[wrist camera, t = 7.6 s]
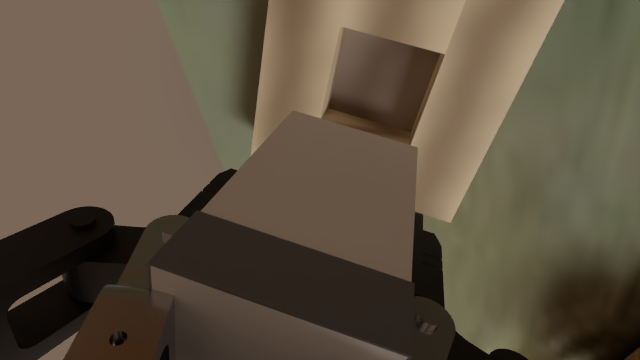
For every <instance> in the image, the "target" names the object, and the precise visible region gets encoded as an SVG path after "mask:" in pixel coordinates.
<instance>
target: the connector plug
mask: <svg viewBox="0 0 640 360" xmlns="http://www.w3.org/2000/svg"><path fill="white" fill-rule="evenodd" d="M417 156H418V147H415V146H412V145H408V144H405V143H402V142H398V141H395V140H391V139H388V138H385V137H381V136H378V135H375V134H371V133H368V132H365V131H361V130H358V129H354V128H351V127H348V126H344V125H341V124H338V123H334V122H331V121H327V120H324V119H321V118H317V117H314V116H311V115H307V114H304V113H300V112H297V111H294V110H293V111H292V112H291V113H290V114H289V115H288V116H287V117H286V119H285V120H284V121H283V122H282V123H281V124H280V125H279V126H278V127H277V128H276V129H275V131H274V132H273V133H272V134H271V135H270V136H269V137H268V138H267V139H266V140H265V141H264V143H263V144H262V145H261V146H260V147H259V148H258V149H257V150H256V151H255V152H254V153H253V155H252V156H251V157H250V158H249V159H248V160H247V161H246V162H245V163H244V164H243V165H242V167H241V168H240V169H239V170H238V171H237V172H236V173H235V174H234V175H233V176H232V177H231V178H230V180H229V181H228V182H227V183H226V184H225V185H224V186H223V187H222V188H221V189H220V190H219V192H218V193H217V194H216V195H215V196H214V197H213V198H212V199H211V200H210V201H209V202H208V204H207V205H206V206H205V207H204V208H203V209H202V210H201V211H198V210H197V211H196V212H195V213H194V214H193V215H192V216H191V217H190V218H189V219H188V220H187V221H186V222H185V223H184V224H183V225H182V227H181V228H180V229H179V230H178V231H177V232H176V233H175V234H174V235H173V236H172V237H171V238H170V239H169V240H168V242H167V243H166V244H165V245H164V246H163V247H162V248H161V249H160V250H159V251H158V252H157V253H156V254H155V255H154V256H153V258H152V259H151V260H150V261H149V262H148V275H149V289H153V290H157V291H161V292H164V293H168V294H171V295H175V357H176V360H410V359H411V357H412V341H413V314H414V288H415V283H413V282H411V280H412V259H413V239H414V218H415V198H416V177H417Z"/></svg>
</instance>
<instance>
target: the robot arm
mask: <svg viewBox="0 0 640 360" xmlns="http://www.w3.org/2000/svg"><path fill="white" fill-rule="evenodd" d="M236 172H237V170H234V169H229V170H227V171H224V172H222V173H219V174H218V175H217V176H216V177H215V178H214V179H213V180H212V181H211V182H210V184H208V185H207V186H206V187H205V188H204V189H203V191H201V192H200V193H199V194H198V195H197V196H196V197H195V198H194V199H193V200H192V201H191V202H190V203H189V204H188V205H187V206H186V207H185V208H184V209H183V210H182V211H181V212H180V213H179V214H178V215H168V216H163V217H160V218H157V219H155V220H153V221H152V222H151V223H150V224H148V226H147V227H129V226H117V225H114V224H115V223H114V217H113V216H112V214H111V213H110V212H109V211H107V210H105V209H103V208H99V207H92V206H91V207H88V206H87V207H79V208H74V209H71V210H68V211H65V212H63V213H61V214H59V215H56V216H54V217H52V218H49V219H47V220H45V221H43V222H40V223H38V224H36V225H33V226H31V227H29V228H26V229H24V230H22V231H20V232H17V233H15V234H13V235H10V236H8V237H6V238H3V239H1V240H0V360H37V359H39V358H40V357H42V356H43V355H45V354H46V353H47V352H49V351H50V350H52V349H53V348H55V347H56V346H57V345H59V344H60V343H62V342H63V341H64V340H66V339H68V338H69V337H70V336H72V335H73V334H75V333H76V332H78V333H77V335H76V337H75V339H74V341H73V342H72V344H71V346H70V348H69V350H68V352H67V353H66V355H65V357H64V359H63V360H176V357H175V295H171V294H168V293H164V292H161V291H157V290H153V289H149V275H148V262H149V261H150V260H151V259H152V258H153V256H154V255H155V254H156V253H157V252H158V251H159V250H160V249H161V248H162V247H163V246H164V245H165V244H166V243H167V242H168V240H169V239H170V238H171V237H172V236H173V235H174V234H175V233H176V232H177V231H178V230H179V229H180V228H181V227H182V225H183V224H184V223H185V222H186V221H187V220H188V219H189V218H190V217H191V216H192V215H193V214H194V213H195V212H196V211H197V210H198V211H201V210H202V209H203V208H204V207H205V206H206V205H207V204H208V202H209V201H210V200H211V199H212V198H213V197H214V196H215V195H216V194H217V193H218V192H219V190H220V189H221V188H222V187H223V186H224V185H225V184H226V183H227V182H228V181H229V180H230V178H231V177H232V176H233V175H234V174H235V173H236ZM441 260H442V249H441V245H440V243H439V241H438V239H437V238H436V236H435V234H434V233H430V232H427V231H424V230H423V214H421V213H418V212H415V218H414V239H413V259H412V280H411V282H413V283H415V288H414V314H413V341H412V357H411V359H410V360H528V359H527V358H526V357H524V356H522V355H521V354H519V353H517V352H515V351H512V350H509V349H496V350H494V351H492V352H491V353H490V354H489V355H488V354H487V353H485V352H484V351H482V350H481V349H479V348H478V347H476V346H474V345H473V344H471V343H470V342H468V341H467V340H465V339H464V338H463V337H462V336H461V335H459V334H458V333H457V332H456V331H455V324H454V322H453V319H452V318H451V316H450V314H449V313H448V312H447V311H446V310H445V307H444V288H443V271H442V261H441ZM60 275H62V278H63V280H62V281H60V282H59V283H57V284H55V285H54V286H52V287H50V288H48V289H46V290H45V291H43V292H41V293H39V294H38V295H36V296H34V297H32V298H31V299H29V300H27V301H25V302H24V303H22V304H20V305H18V306H17V307H15V308H13V309H11V310H10V311H8V309H9V308H10V307H11V305H12V304H13V303H14V302H15V301H17V300H18V299H19V298H21V297H23V296H24V295H26V294H28V293H30V292H32V291H33V290H35V289H37V288H39V287H40V286H42V285H44V284H46V283H47V282H49V281H51V280H53V279H55V278H57V277H58V276H60Z"/></svg>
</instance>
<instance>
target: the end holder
mask: <svg viewBox="0 0 640 360" xmlns="http://www.w3.org/2000/svg"><path fill="white" fill-rule="evenodd" d="M563 2H564V0H269V1H268V10H267V19H266V27H265V36H264V45H263V54H262V62H261V71H260V80H259V88H258V97H257V106H256V114H255V123H254V132H253V141H252V149H251V156H252V155H253V153H254V152H255V151H256V150H257V149H258V148H259V147H260V146H261V145H262V144H263V143H264V141H265V140H266V139H267V138H268V137H269V136H270V135H271V134H272V133H273V132H274V131H275V129H276V128H277V127H278V126H279V125H280V124H281V123H282V122H283V121H284V120H285V119H286V117H287V116H288V115H289V114H290V113H291V112H292V111H293V110H294V111H297V112H300V113H304V114H307V115H311V116H314V117H317V118H321V119H324V120H327V121H331V122H334V123H338V124H341V125H344V126H348V127H351V128H354V129H358V130H361V131H365V132H368V133H371V134H375V135H378V136H381V137H385V138H388V139H391V140H395V141H398V142H402V143H405V144H408V145H412V146H415V147H418V156H417V177H416V198H415V212H418V213H421V214H424V215H427V216H430V217H433V218H437V219H440V220H443V221H446V222H449V223H450V222H451V220H452V219H453V217H454V215H455V213H456V211H457V209H458V207H459V205H460V203H461V201H462V199H463V197H464V195H465V193H466V191H467V189H468V187H469V185H470V183H471V182H472V180H473V178H474V176H475V174H476V172H477V170H478V168H479V166H480V164H481V162H482V160H483V158H484V156H485V154H486V152H487V150H488V148H489V146H490V145H491V143H492V141H493V139H494V137H495V135H496V133H497V131H498V129H499V127H500V125H501V123H502V121H503V119H504V117H505V115H506V113H507V111H508V109H509V108H510V106H511V104H512V102H513V100H514V98H515V96H516V94H517V92H518V90H519V88H520V86H521V84H522V82H523V80H524V78H525V76H526V74H527V72H528V71H529V69H530V67H531V65H532V63H533V61H534V59H535V57H536V55H537V53H538V51H539V49H540V47H541V45H542V43H543V41H544V39H545V37H546V35H547V34H548V32H549V30H550V28H551V26H552V24H553V22H554V20H555V18H556V16H557V14H558V12H559V10H560V8H561V6H562V4H563Z"/></svg>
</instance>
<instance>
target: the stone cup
mask: <svg viewBox="0 0 640 360" xmlns="http://www.w3.org/2000/svg"><path fill="white" fill-rule="evenodd" d="M624 360H640V347H639V348H637V349H636V350H635V351H634V352H632V353H631V354H630V355H629V356H628V357H627V358H626V359H624Z"/></svg>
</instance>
